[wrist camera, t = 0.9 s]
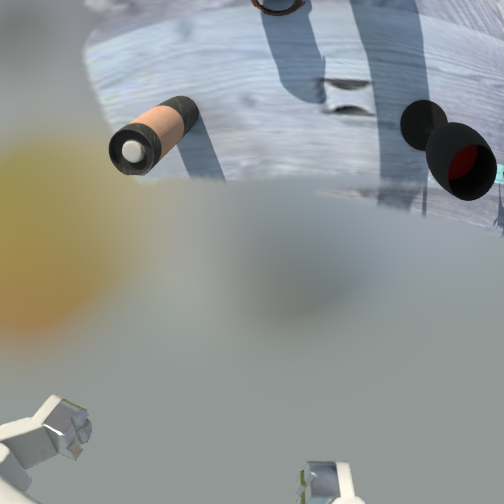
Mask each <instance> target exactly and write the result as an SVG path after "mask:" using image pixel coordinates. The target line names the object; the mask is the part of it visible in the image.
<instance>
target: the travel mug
mask: <svg viewBox="0 0 504 504" xmlns="http://www.w3.org/2000/svg"><path fill="white" fill-rule="evenodd" d="M197 119H198V108H197V106H196V104H195V103H194V101H193V100H191V99H190V98H188V97H185V96H176V97H173V98H171V99H169V100H167V101H165V102H163V103H161V104H159V105H157V106H155V107H153V108H152V109H150V110H148V111H147V112H145V113H144V114H142V115H141V116H139V117H138V118H136V119H135V120H133V121H132V122H130V123H129V124H127V125H126V126H124V127H123V128H121V129H120V130H119V131H117V132H116V133H115V134H114V135H113V137H112V138H111V140H110V143H109V155H110V158H111V161H112V163H113V164H114V166H115V167H116V168H117V169H118V170H119V171H120V172H122V173H123V174H125V175H140V176H143V175H145V174H146V173H148V172H149V171H150V170H151V169H152V168H153V167H154V166H155V165H156V164H157V163H158V162H159V161H160V160H161V159H162V158H163V157H164V156H165V155H166V154H167V153H168V152H169V151H170V150H171V149H172V148H173V147H174V146H175V145H176V144H177V143H178V142H179V141H180V140H181V139H182V138H183V136H184V135H185V134H186V133H187V132H188V131H189V130H190V129H191V128H192V127H193V125H194V124H195V123H196V121H197Z"/></svg>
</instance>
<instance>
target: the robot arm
mask: <svg viewBox="0 0 504 504" xmlns="http://www.w3.org/2000/svg"><path fill="white" fill-rule="evenodd" d="M87 417H88V412H87V410H86V409H84V408H82V407H80V406H77V405H75V404H73V403H71V402H69V401H67V400H65V399H63V398H61V397H59V396H57V395H55V394H53V395H51V396H50V397H49V398H48V399H47V401H46V402H45V403H44V404H43V405H42V406H41V408H40V409H39V410H38V411H37V413H36V414H35V415H34V416H33V417H32V418H30V417H27V418H24V419H20V420H17V421H14V422H11V423H7V424H3V425H0V504H42V503H40V502H39V501H37V500H36V499H34V498H33V497H31V496H30V495H28V494H26V491H27V489H28V488H29V486H30V484H31V483H32V479H31V477H30V476H29V475H28V474H27V472H26V471H25V470H26V469H28V468H30V467H32V466H35V465H37V464H39V463H41V462H43V461H45V460H47V459H49V458H51V457H53V456H55V455H56V454H58V453H60V454H62V455H64V456H66V457H68V458H70V459H72V460H74V461H76V460H77V458H78V457H79V455H80V454H81V452H82V450H83V449H82V444H84V443H87V442H88V440H89V438H90V437H91V433H92V424H91V422H90V421H89V420H88V418H87ZM296 493H297V494H298V495H299V496H300V497H299V498H298V499H297V501H296V504H366V503H365V502H364V501H363V500H362V499H361V498H360V497H359V496H355V493H354V487H353V481H352V476H351V471H350V465H349V463H348V462H347V461H307V462H306V463H305V464H304V470H302V471H300V473H299V475H298V477H297V481H296Z"/></svg>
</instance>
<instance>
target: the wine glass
mask: <svg viewBox="0 0 504 504" xmlns="http://www.w3.org/2000/svg"><path fill="white" fill-rule="evenodd" d="M400 126H401V132H402V135H403V137H404V139H405V140H406V142H407V143H408V144H409V145H410V146H412V147H413V148H415V149H418V150H422V151H426V159H427V163H428V166H429V169H430V171H431V173H432V175H433V176H434V178H435V179H436V181H437V182H438V183H439V184H440V185H441V186H442V187H443V188H444V189H445V190H446V191H448V192H449V193H450V194H452V195H454V196H455V197H457V198H459V199H461V200H465V201H472V200H476V199H478V198H480V197H482V196H483V195H485V194H486V193H487V192H488V191H489V189H490V188H491V187H492V185H493V183H494V181H495V178H496V174H497V163H496V159H495V157H494V154H493V152H492V150H491V148H490V147H489V145H488V144H487V142H486V141H485V140H484V138H483V137H482V136H481V135H480V134H479V133H478V132H477V131H475V130H474V129H472V128H471V127H469V126H467V125H465V124H462V123H457V122H449V123H448V121H447V117H446V115H445V113H444V111H443V110H442V109H441V107H440V106H438V105H437V104H435V103H434V102H431V101H428V100H419V101H416V102H413V103H412V104H410V105H409V106H408V107H407V108H406V109H405V111H404V112H403V115H402V117H401V124H400Z"/></svg>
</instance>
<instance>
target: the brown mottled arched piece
mask: <svg viewBox="0 0 504 504" xmlns="http://www.w3.org/2000/svg"><path fill="white" fill-rule="evenodd" d="M251 2H252V3H253V5H254V6H255V7H257V8H258V9H260V10H262V11H263V13H264V14H267V15H272V16H283V15H287V14H290V13H292V12H294V11H296V10H297V9H299V8H300V7H301V6H303V5H304V4H305V2H303V1H302V0H295V2H294V4H293V5H292V6H291V7H290V8H288V9H286V10H282V11H273V10H269V9H266V8H265V7H264V6H262V5H260V4H259V2H258V0H251Z"/></svg>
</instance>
